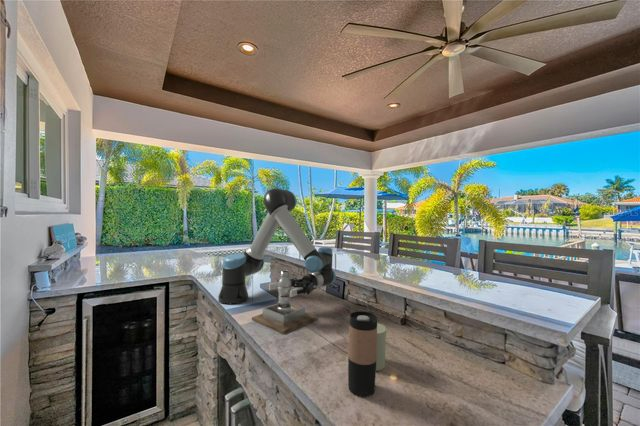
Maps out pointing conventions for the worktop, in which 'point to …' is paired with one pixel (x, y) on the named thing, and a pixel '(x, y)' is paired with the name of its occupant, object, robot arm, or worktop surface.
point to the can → (380, 347)
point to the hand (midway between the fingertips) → (279, 290)
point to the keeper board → (287, 327)
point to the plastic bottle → (284, 294)
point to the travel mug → (362, 353)
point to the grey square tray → (281, 319)
